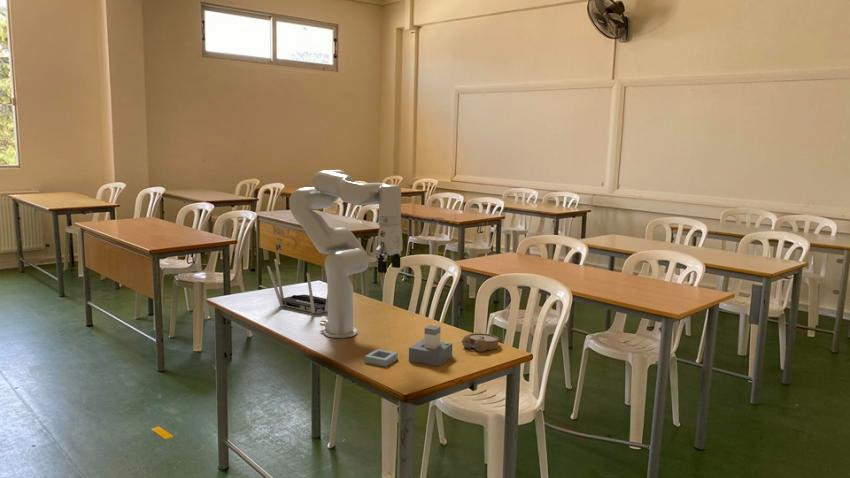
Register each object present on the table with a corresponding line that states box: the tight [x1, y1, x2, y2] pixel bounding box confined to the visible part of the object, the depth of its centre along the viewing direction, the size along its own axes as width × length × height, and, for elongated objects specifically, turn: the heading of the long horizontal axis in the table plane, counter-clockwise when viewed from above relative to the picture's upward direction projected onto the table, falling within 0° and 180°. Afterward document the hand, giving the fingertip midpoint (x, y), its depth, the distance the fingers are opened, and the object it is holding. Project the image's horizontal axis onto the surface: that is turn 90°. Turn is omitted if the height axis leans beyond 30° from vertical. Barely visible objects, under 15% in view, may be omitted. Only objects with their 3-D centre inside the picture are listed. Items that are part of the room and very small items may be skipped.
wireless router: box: [266, 258, 328, 314], centre depth 270 cm, size 34×23×20 cm
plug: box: [423, 324, 442, 349], centre depth 212 cm, size 4×4×10 cm
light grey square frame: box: [364, 348, 399, 368], centre depth 210 cm, size 8×8×2 cm
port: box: [408, 338, 453, 367], centre depth 213 cm, size 11×11×5 cm
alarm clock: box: [461, 332, 501, 353], centre depth 226 cm, size 11×5×15 cm
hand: (389, 269), depth 218 cm, fingers open, 9 cm apart
